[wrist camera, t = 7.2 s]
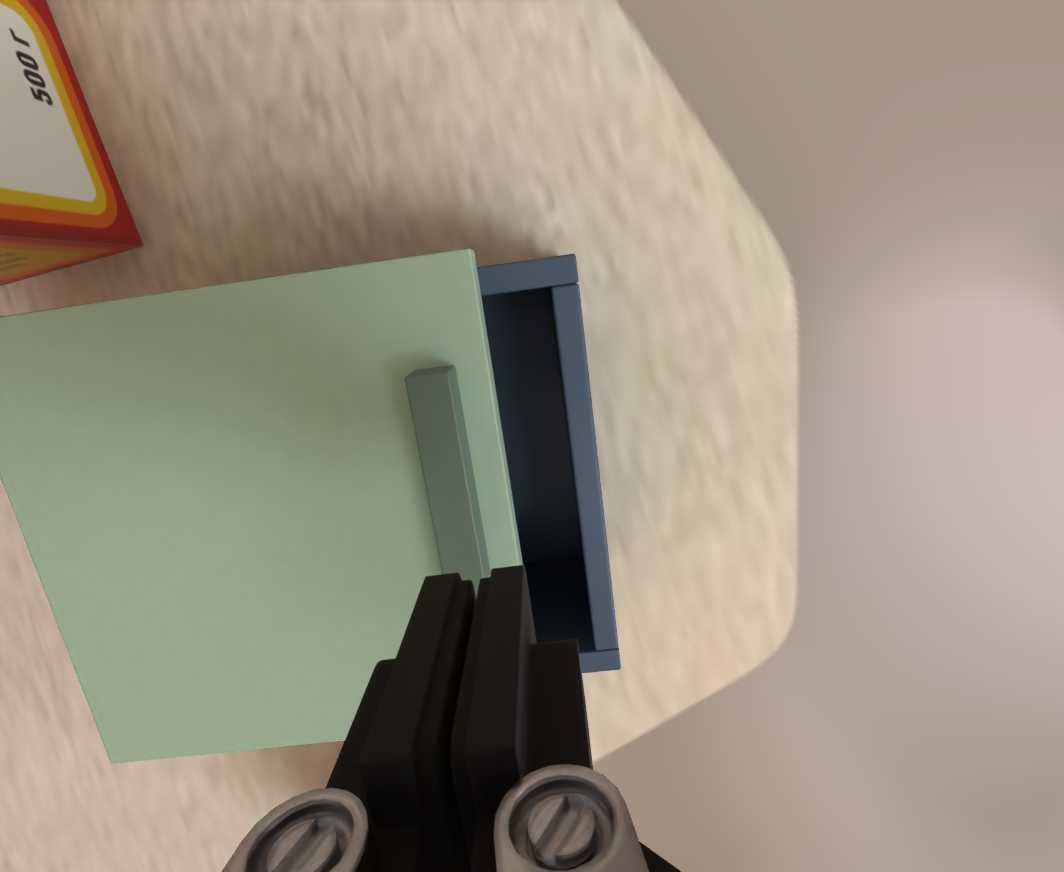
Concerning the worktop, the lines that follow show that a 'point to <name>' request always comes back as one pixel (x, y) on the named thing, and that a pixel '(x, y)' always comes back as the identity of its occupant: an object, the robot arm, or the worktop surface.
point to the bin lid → (253, 491)
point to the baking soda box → (50, 156)
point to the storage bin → (552, 451)
